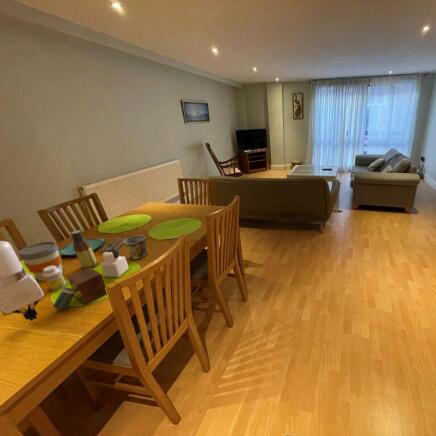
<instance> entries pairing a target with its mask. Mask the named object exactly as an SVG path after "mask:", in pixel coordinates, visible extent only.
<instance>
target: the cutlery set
mask: <svg viewBox="0 0 436 436" xmlns="http://www.w3.org/2000/svg"><path fill="white" fill-rule="evenodd" d="M126 239H127V237H124V238H123V239H122V240H121V238H120V237H118V238H117V240H115V238H113V239H112V240H111V241H110V242H107V244H106V245H105V246H104V247H103V248H102V249H101V252H104V251H105V249H106V251H107V250H110V249H117V250H118V249H119V248H120V247H121V245H122V244H124V241H125V240H126ZM85 240H87V241H88V242H89V245H90V246H91V249H92V251H93V252H94V251H95V250H97V249H99V248H100V247H102V246H103V245H104V243H105V242H106V240H105V239H103V238H85ZM120 240H121V241H120ZM114 241H115V242H114ZM119 241H120V242H119ZM113 242H114V243H113ZM118 242H119V243H118ZM112 243H113V244H112ZM117 243H118V244H117ZM111 244H112V245H111ZM58 252H59V253H60V256H61V258H62V257H63V256H66V257H72V256H77V255H76V253H75V250H74V242H71V243H69V244H67V245H66V246H63V247H62V248H61V249H60V250H58Z"/></svg>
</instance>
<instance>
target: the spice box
mask: <svg viewBox="0 0 436 436" xmlns="http://www.w3.org/2000/svg"><path fill="white" fill-rule="evenodd" d="M66 279H67V280H68V283H69V285H70V288H71V289H75V290H77V291H76V293H75V295H74V297H76V298H77V299H78V300H79V301H81V302H82V303H84V304H85V305H88V304H90V303H93V302H94V301H96V300H98V299H100V298H102V297H103V296H105V295H108V293H106V290H105V286H106V283H105V281H104V278H103V275H102V273H100V272H99V271H97V270H96V269H93V267H92V268H90V267H89V268H87V269H84V268H83V269H81V270H79V271H77V272H74V273H72V274H70V275H68V276H66Z"/></svg>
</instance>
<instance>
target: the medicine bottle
mask: <svg viewBox="0 0 436 436" xmlns="http://www.w3.org/2000/svg"><path fill="white" fill-rule="evenodd" d="M102 257H103V260H104V261H103V262H101V263H100V267H101V269H102V273H103V275H104V277H111V278H112V277H113V278H120V277H121V276H122V275H123V274H124V273H125V272H127V270H129V269H130V268H129V265H128V261H127V258H126V256H121V254H120V252H119V250H118V249H114V248H113V249H110V250H106V251H105V250H104V251H103V253H102Z"/></svg>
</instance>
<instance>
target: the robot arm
mask: <svg viewBox="0 0 436 436" xmlns="http://www.w3.org/2000/svg"><path fill="white" fill-rule="evenodd" d="M44 298H46V295H45V294H44V291H43V289H42V287H41V286H40V285H39V283H38V282H37V279H35V278H34V276H33V275H32V274H30V273H29V272H26V271H25V269H24V266H23V265H22V263H21V261H20V259H19V257H18V256H17V253H16V251H15V250H14V248H13V246H12V244H11V243H10V242H8V241H5V240H0V310H1V314H2V316H5V317H6V316H9V315H12V314H22V315H23V317H24V319H25V320H26V321H27V320H29V321H30V322H33V321H34V320H36V319H38V317H37V316H38V314H39V313H38V311H37V310H36V306H37V305H38V303H39V302H40V301H42V300H44ZM25 307H27V308H25Z"/></svg>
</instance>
